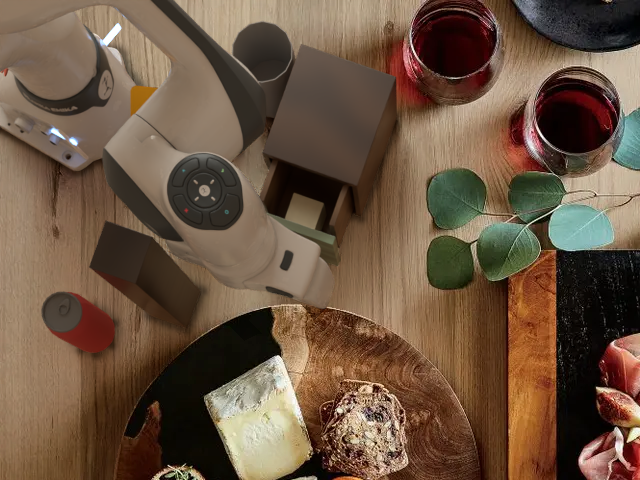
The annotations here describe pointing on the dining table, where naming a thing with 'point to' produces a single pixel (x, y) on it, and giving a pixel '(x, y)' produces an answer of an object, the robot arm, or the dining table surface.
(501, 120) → the dining table surface
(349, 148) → the cabinet
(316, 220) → the block
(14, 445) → the dining table surface
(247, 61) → the cup
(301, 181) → the drawer
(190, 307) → the plinth
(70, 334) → the beer can
